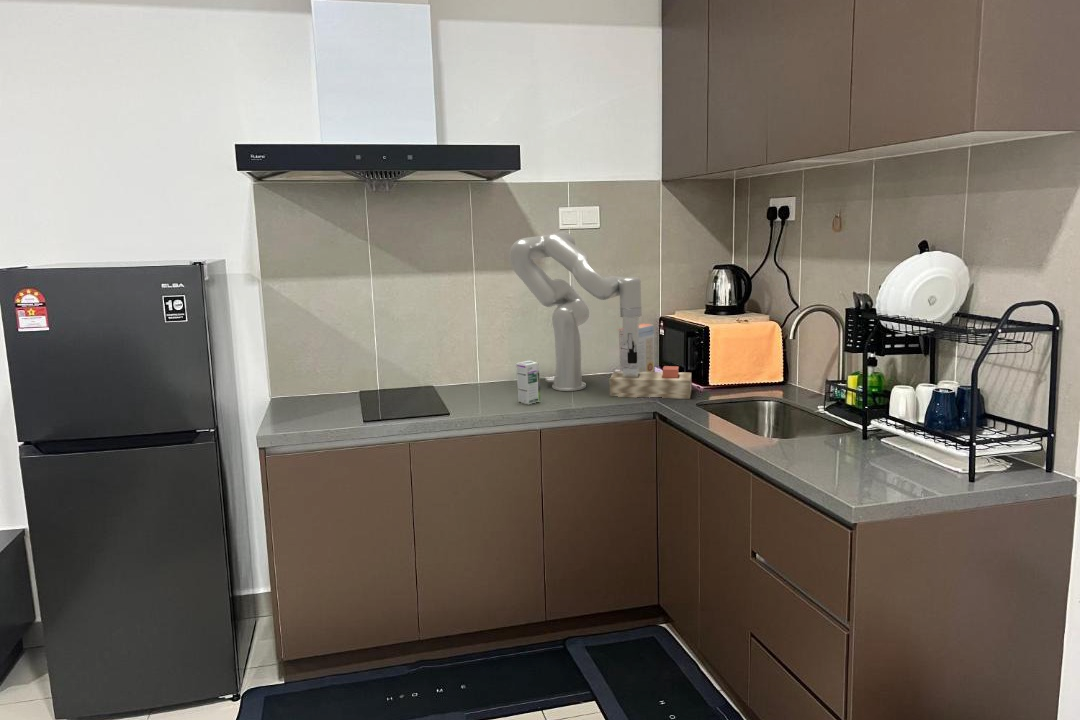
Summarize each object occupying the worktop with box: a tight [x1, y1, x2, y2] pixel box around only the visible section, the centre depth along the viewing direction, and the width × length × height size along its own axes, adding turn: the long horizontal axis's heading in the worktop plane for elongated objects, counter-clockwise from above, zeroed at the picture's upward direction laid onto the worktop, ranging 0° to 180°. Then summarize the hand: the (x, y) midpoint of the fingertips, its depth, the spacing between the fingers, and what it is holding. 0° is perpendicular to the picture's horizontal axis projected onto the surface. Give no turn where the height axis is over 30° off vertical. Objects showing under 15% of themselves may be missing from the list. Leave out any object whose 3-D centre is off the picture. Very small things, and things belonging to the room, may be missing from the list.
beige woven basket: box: [609, 370, 692, 400], centre depth 281 cm, size 28×12×6 cm, turn 77°
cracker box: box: [618, 323, 656, 372], centre depth 300 cm, size 14×6×21 cm, turn 130°
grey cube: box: [623, 366, 639, 378], centre depth 282 cm, size 5×5×5 cm
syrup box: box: [515, 360, 542, 403], centre depth 275 cm, size 6×6×14 cm
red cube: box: [662, 365, 680, 378], centre depth 279 cm, size 5×5×5 cm
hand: (632, 362), depth 281 cm, fingers closed
